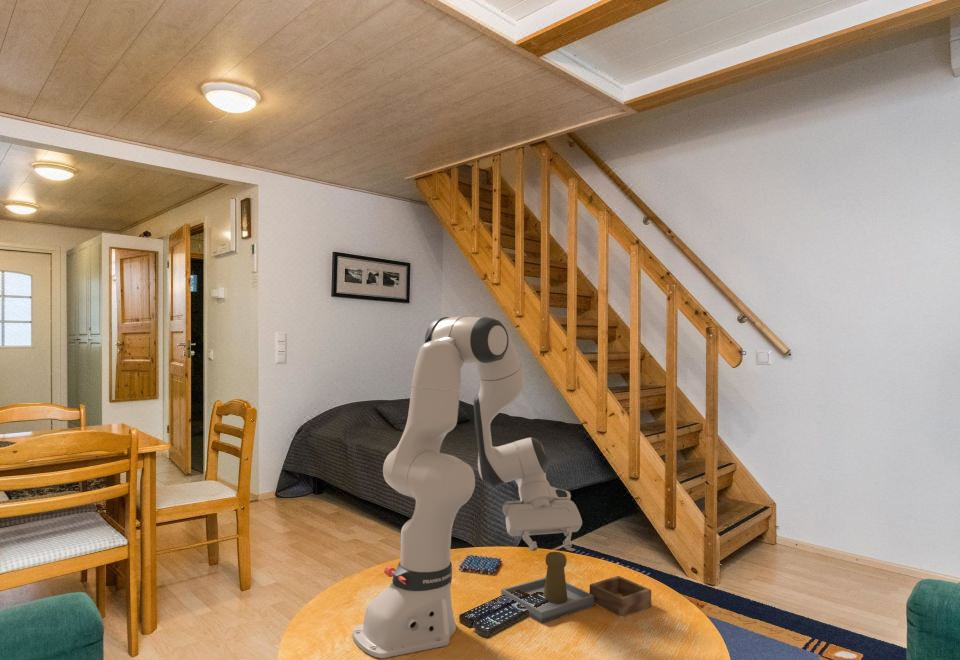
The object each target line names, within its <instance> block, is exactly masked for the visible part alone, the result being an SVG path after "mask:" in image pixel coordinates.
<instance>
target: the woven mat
mask: <svg viewBox="0 0 960 660" xmlns="http://www.w3.org/2000/svg"><path fill="white" fill-rule="evenodd" d="M501 559H502V558H498V557H492V556H485V557H484V556H482V555H474V554H470V555H466V557H465V559H463V561H462V563H460V565H459V568H458V569H459V572H465V573H472V574H476V575H477V574H478V575H479V574H481V575H482V574H484V575H488V576H490V575H491V574H492V576H495V575H496V573H497V572H498V570H499V568H500V567H501V566H502V562H503V560H501Z"/></svg>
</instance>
